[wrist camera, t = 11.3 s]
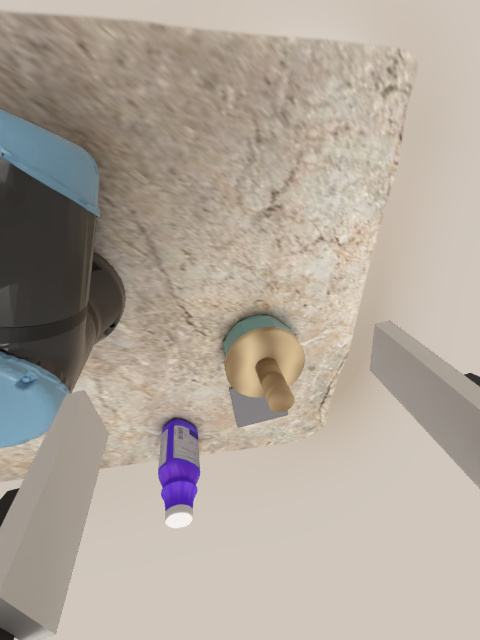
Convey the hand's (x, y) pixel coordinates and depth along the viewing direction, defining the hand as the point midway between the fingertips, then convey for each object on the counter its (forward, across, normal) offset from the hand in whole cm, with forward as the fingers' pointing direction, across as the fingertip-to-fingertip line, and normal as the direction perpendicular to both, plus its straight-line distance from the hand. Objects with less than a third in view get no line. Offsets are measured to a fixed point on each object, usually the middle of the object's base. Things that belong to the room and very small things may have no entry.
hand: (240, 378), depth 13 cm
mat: (+32, +5, -35) cm, 47 cm away
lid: (+27, +6, -21) cm, 34 cm away
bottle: (+32, -12, -37) cm, 50 cm away
